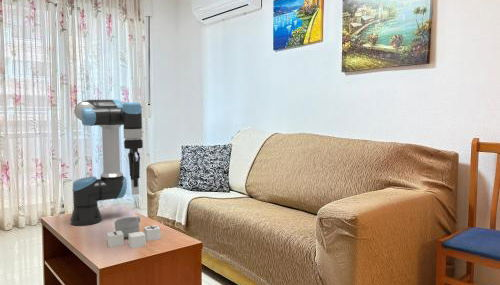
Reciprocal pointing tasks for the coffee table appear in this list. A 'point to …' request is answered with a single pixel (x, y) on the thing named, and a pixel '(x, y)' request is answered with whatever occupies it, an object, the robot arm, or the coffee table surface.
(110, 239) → the marked block bar
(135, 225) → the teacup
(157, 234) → the marked block cross
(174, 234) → the coffee table surface
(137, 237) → the plain block
